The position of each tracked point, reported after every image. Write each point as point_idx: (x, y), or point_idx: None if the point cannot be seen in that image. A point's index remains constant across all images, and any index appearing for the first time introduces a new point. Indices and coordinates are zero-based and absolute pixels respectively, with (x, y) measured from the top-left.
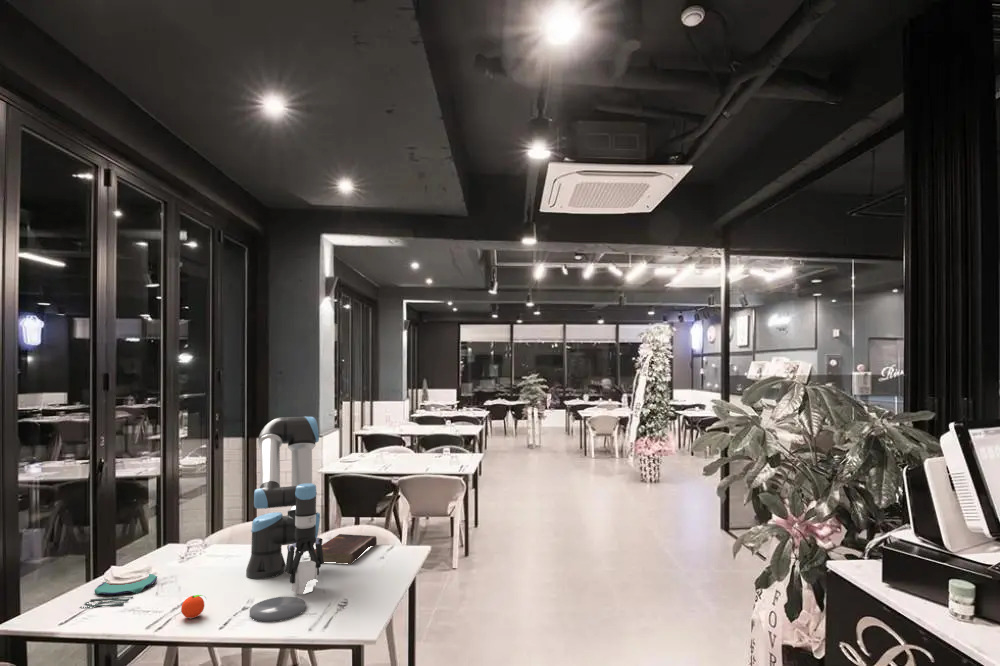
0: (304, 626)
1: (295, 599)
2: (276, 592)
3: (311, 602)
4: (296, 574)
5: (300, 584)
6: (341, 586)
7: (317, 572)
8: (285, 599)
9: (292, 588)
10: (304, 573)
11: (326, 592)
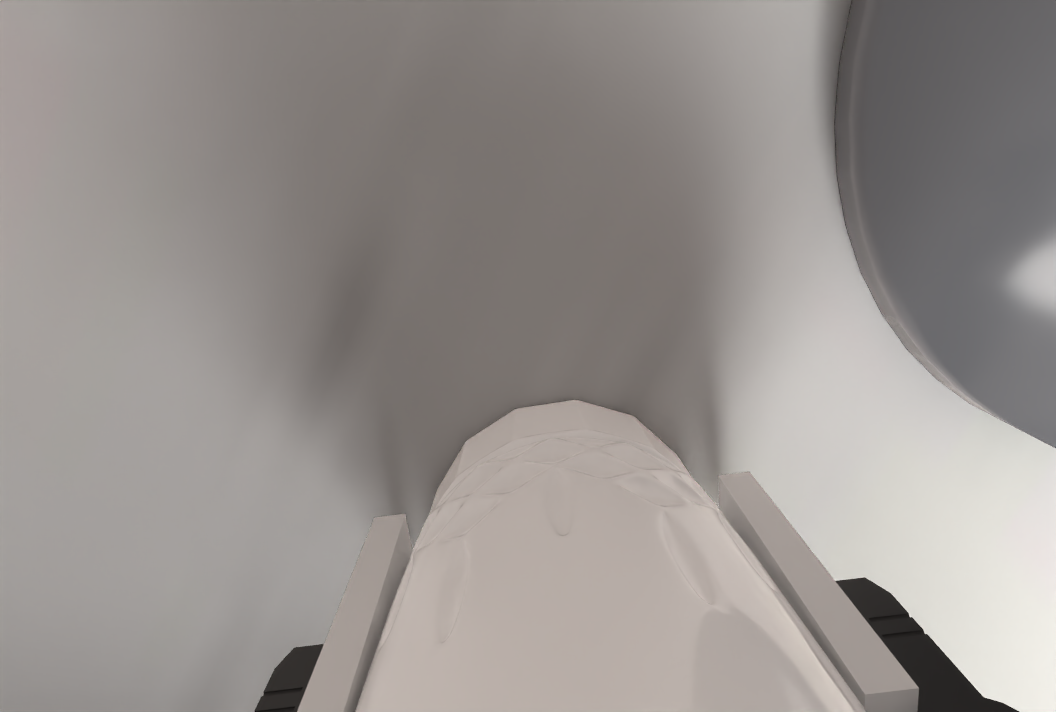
0: None
1: (960, 150)
2: None
3: (717, 12)
4: (899, 685)
5: (719, 511)
6: (40, 326)
7: (296, 692)
8: (1051, 276)
9: None
10: (749, 600)
11: (336, 256)
